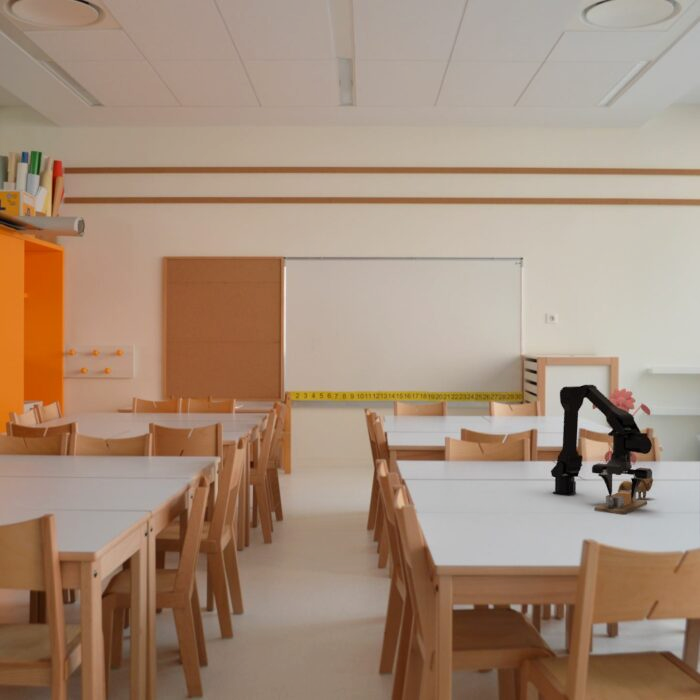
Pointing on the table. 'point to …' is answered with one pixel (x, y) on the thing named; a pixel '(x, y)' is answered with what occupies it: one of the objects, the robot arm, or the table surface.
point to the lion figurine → (643, 487)
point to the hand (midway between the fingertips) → (621, 496)
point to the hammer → (621, 499)
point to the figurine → (625, 403)
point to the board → (624, 510)
